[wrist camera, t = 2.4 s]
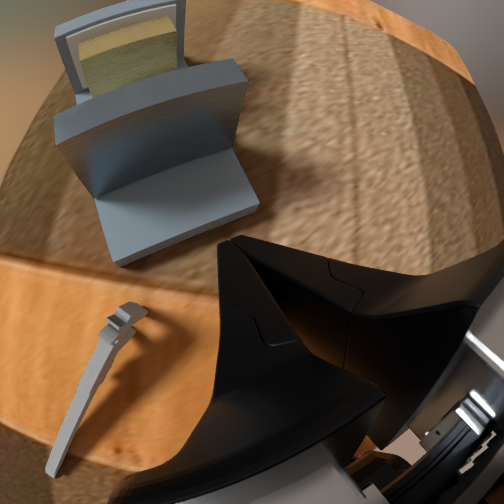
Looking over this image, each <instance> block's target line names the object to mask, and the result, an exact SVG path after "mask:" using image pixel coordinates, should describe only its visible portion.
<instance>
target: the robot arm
mask: <svg viewBox="0 0 504 504" xmlns="http://www.w3.org/2000/svg"><path fill="white" fill-rule="evenodd" d="M217 265H218V289H219V309H220V310H219V313H220V337H219V349H218V357H217V365H216V373H215V381H214V388H213V393H212V398H211V401H210V404H209V406H208V408H207V409H206V411H205V413H204V414H203V416H202V417H201V419H200V421H199V422H198V424H197V425H196V427H195V429H194V430H193V432H192V433H191V435H190V436H189V438H188V439H187V441H186V443H185V444H184V446H183V447H182V448H181V450H180V451H179V452H178V453H177V454H176V455H175V456H174V457H173V458H171V459H170V460H168V461H167V462H165V463H163V464H162V465H159V466H157V467H154V468H151V469H147V470H144V471H140V472H136V473H133V474H130V475H128V476H125V477H123V478H122V479H120V480H119V481H118V482H117V483H116V485H115V487H114V489H113V491H112V493H111V495H110V498H109V501H108V504H504V239H503V240H502V242H501V243H500V244H498V245H497V246H495V247H494V248H492V249H490V250H488V251H486V252H484V253H482V254H480V255H477V256H475V257H472V258H470V259H468V260H465V261H463V262H460V263H458V264H455V265H453V266H450V267H448V268H445V269H443V270H440V271H437V272H435V273H432V274H428V275H421V276H414V275H407V274H401V273H396V272H390V271H385V270H380V269H374V268H369V267H364V266H359V265H355V264H351V263H347V262H342V261H339V260H335V259H331V258H327V257H324V256H320V255H316V254H312V253H309V252H305V251H301V250H298V249H294V248H290V247H286V246H283V245H279V244H275V243H271V242H267V241H264V240H260V239H256V238H252V237H248V236H245V235H239V236H236V237H234V238H231V239H230V241H229V240H226V241H224V242H221V243H219V244H217ZM409 428H410V429H411V430H412V431H413V432H414V434H415V435H416V436H417V437H418V438H419V439H420V440H421V441H420V442H419V443H420V445H421V446H422V447H423V448H424V449H425V450H426V452H427V453H426V454H425V455H424V456H422V457H421V458H420V459H419V460H418V461H417V462H416V463H414V464H413V465H412V466H411V465H410V464H409V463H408V462H407V461H406V460H404V459H403V458H401V457H400V456H398V455H394V454H389V453H383V452H377V451H372V450H368V451H367V452H365V453H364V454H363V456H362V457H360V458H357V457H356V456H354V454H355V452H356V451H357V449H358V447H359V446H360V444H361V443H362V441H363V440H364V438H365V436H366V435H367V436H368V437H369V438H370V439H371V440H372V441H373V443H374V444H375V445H376V446H377V447H378V448H379V449H380V450H383V449H384V448H385V447H387V446H388V445H389V444H391V443H392V442H393V441H394V440H396V439H397V438H398V437H399V436H400V435H402V434H403V433H404V432H405V431H407V430H408V429H409ZM492 431H494V432H495V433H496V434H497V435H496V436H494V437H493V438H492V439H491V440H490V441H489V442H488V443H487V446H488V448H487V449H486V450H485V451H484V452H482V453H481V454H480V455H479V456H477V457H476V458H475V459H474V460H473V463H474V466H472V467H471V468H470V469H468V470H467V471H465V472H464V473H462V474H461V473H460V471H459V470H460V469H461V468H462V467H464V466H465V465H467V464H468V463H469V462H470V461H471V456H473V455H474V454H475V453H477V452H478V451H479V450H480V449H481V448H482V446H481V445H482V444H483V443H484V442H485V441H486V440H488V439H489V438H490V437H491V435H492V434H491V432H492Z"/></svg>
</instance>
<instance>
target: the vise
mask: <svg viewBox="0 0 504 504" xmlns="http://www.w3.org/2000/svg"><path fill="white" fill-rule="evenodd" d="M185 8H186V0H130V1H126V2H122V3H119V4H116V5H112V6H109V7H106V8H103V9H100V10H97V11H94V12H91V13H88V14H86V15H83V16H80V17H78V18H75V19H73V20H70V21H68V22H66V23H63V24H61V25H59V26H57V27H56V28H55V41H56V44H57V47H58V50H59V53H60V55H61V58H62V61H63V64H64V66H65V69H66V72H67V74H68V77H69V79H70V82H71V84H72V87H73V89H74V92H75V94H76V103H77V105H78V104H80V103H82V102H85V101H87V100H89V99H92V96H91V93H90V90H89V88H88V85H87V82H86V79H85V76H84V73H83V70H82V67H81V64H80V60H79V47H78V44H79V43H82V42H84V41H87V40H89V39H92V38H95V37H97V36H100V35H103V34H106V33H109V32H112V31H115V30H118V29H121V28H124V27H128V26H131V25H135V24H138V23H142V22H146V21H150V20H154V19H158V18H163V17H169V19H170V20H171V22H172V24H173V25H174V27H175V28H176V30H177V70H179V69H183V68H187V67H188V65H187V63H186V62H185V60H184V27H185ZM95 202H96V206H97V210H98V214H99V217H100V221H101V224H102V228H103V231H104V235H105V238H106V241H107V244H108V248H109V251H110V254H111V257H112V260H113V262H114V263H115V264H116V265H118V266H119V267H122V266H124V265H126V264H129V263H131V262H133V261H136V260H138V259H140V258H143V257H145V256H147V255H150V254H152V253H155V252H157V251H159V250H162V249H164V248H166V247H169V246H171V245H174V244H176V243H179V242H181V241H183V240H186V239H188V238H191V237H193V236H196V235H198V234H201V233H203V232H206V231H208V230H211V229H213V228H216V227H218V226H221V225H223V224H226V223H228V222H231V221H233V220H236V219H239V218H241V217H244V216H246V215H249V214H252V213H254V212H255V211H256V210H257V208H258V206H259V204H260V202H259V200H258V198H257V196H256V194H255V192H254V190H253V188H252V186H251V184H250V182H249V180H248V178H247V176H246V174H245V172H244V170H243V168H242V167H241V165H240V163H239V161H238V159H237V157H236V155H235V153H234V151H233V149H232V147H231V148H228V149H224V150H221V151H218V152H215V153H212V154H208V155H205V156H202V157H199V158H196V159H193V160H190V161H187V162H185V163H182V164H179V165H176V166H173V167H171V168H168V169H165V170H162V171H160V172H157V173H154V174H152V175H149V176H147V177H144V178H142V179H139V180H137V181H134V182H132V183H129V184H127V185H124V186H122V187H120V188H117V189H115V190H113V191H110V192H108V193H106V194H104V195H101V196H99V197H97V198H95Z"/></svg>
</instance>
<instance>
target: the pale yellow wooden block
mask: <svg viewBox="0 0 504 504" xmlns="http://www.w3.org/2000/svg"><path fill="white" fill-rule="evenodd" d="M78 47H79V60H80V64H81V67H82V70H83V73H84V76H85V79H86V82H87V85H88V88H89V90H90V93H91V96H92V98H94V97H97V96H99V95H102V94H104V93H107V92H109V91H112V90H115V89H117V88H120V87H123V86H126V85H129V84H131V83H134V82H137V81H141V80H144V79H147V78H150V77H154V76H157V75H160V74H164V73H168V72H171V71H175V70H177V30H176V28H175V27H174V25H173V24H172V22H171V20H170V19H169V17H163V18H158V19H154V20H150V21H146V22H142V23H138V24H135V25H131V26H128V27H124V28H121V29H118V30H115V31H112V32H109V33H106V34H103V35H100V36H97V37H95V38H92V39H89V40H87V41H84V42H82V43H79V44H78Z"/></svg>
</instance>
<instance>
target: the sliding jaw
mask: <svg viewBox="0 0 504 504" xmlns="http://www.w3.org/2000/svg"><path fill="white" fill-rule="evenodd" d="M247 85H248V80H247V78H246V77H245V75H244V74H243V72H242V71H241V69H240V68H239V67H238V65H237V64H236V62H235V61H234V60H233V58H232V59H226V60H221V61H215V62H210V63H205V64H200V65H196V66H191V67H187V68H183V69H179V70H175V71H171V72H168V73H164V74H160V75H157V76H154V77H150V78H147V79H144V80H141V81H137V82H134V83H131V84H129V85H126V86H123V87H120V88H117V89H115V90H112V91H109V92H107V93H104V94H102V95H99V96H97V97H94V98H92V99H89V100H87V101H85V102H82V103H80V104H78V105H76V106H73V107H71V108H69V109H67V110H65V111H63V112H61V113H59V114H57V115H55V116H54V130H55V141H56V146H57V148H58V149H59V151H60V152H61V153H62V155H63V156H64V158H65V159H66V161H67V162H68V164H69V165H70V166H71V168H72V169H73V171H74V172H75V174H76V175H77V176H78V178H79V179H80V180H81V182H82V183H83V185H84V186H85V187H86V189H87V190H88V191H89V193H90V194H91V195H92V197H93V198H94V199H95V198H97V197H99V196H101V195H104V194H106V193H108V192H110V191H113V190H115V189H117V188H120V187H122V186H124V185H127V184H129V183H132V182H134V181H137V180H139V179H142V178H144V177H147V176H149V175H152V174H154V173H157V172H160V171H162V170H165V169H168V168H171V167H173V166H176V165H179V164H182V163H185V162H187V161H190V160H193V159H196V158H199V157H202V156H205V155H208V154H212V153H215V152H218V151H221V150H224V149H228V148H231V147H233V142H234V138H235V134H236V129H237V125H238V121H239V117H240V113H241V109H242V105H243V101H244V97H245V93H246V89H247Z"/></svg>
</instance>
